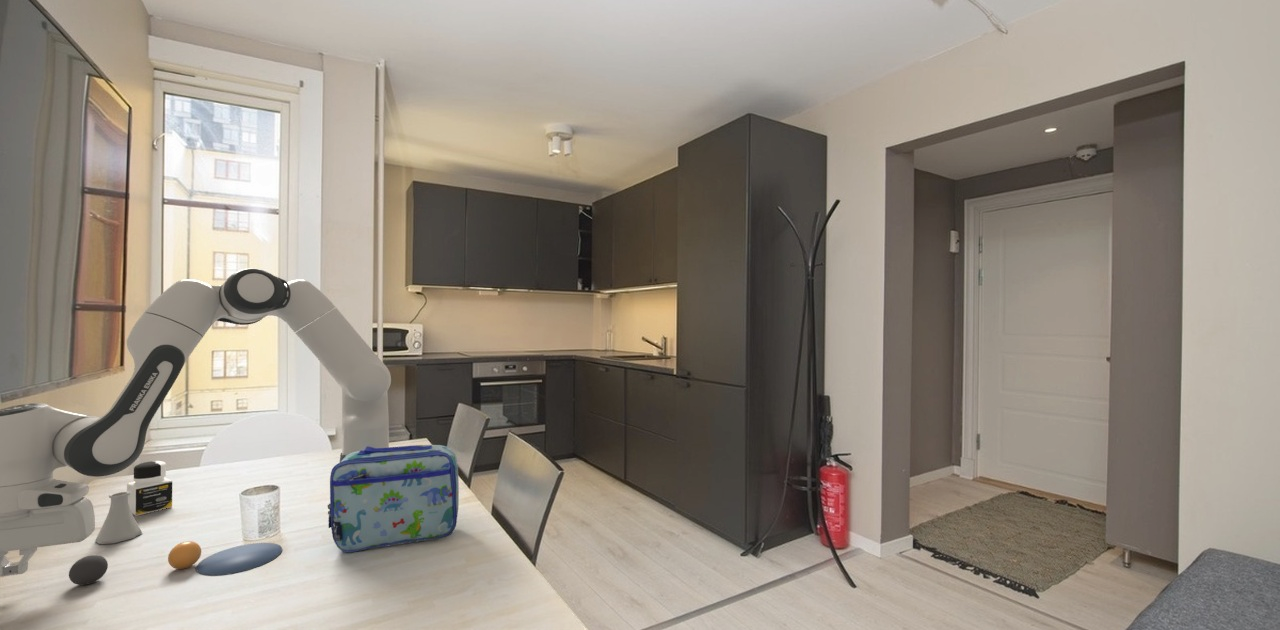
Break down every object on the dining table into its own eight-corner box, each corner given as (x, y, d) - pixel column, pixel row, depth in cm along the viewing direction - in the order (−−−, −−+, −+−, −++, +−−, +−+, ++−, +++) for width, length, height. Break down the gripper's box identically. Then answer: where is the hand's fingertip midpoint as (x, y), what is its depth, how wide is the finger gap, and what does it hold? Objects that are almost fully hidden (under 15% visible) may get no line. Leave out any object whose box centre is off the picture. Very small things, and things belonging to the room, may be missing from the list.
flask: (112, 546, 112) (112, 500, 112) (86, 543, 114) (87, 498, 114) (150, 533, 119) (150, 489, 119) (125, 530, 121) (125, 487, 121)
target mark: (287, 539, 116) (287, 538, 116) (275, 566, 104) (275, 565, 104) (208, 551, 110) (208, 550, 110) (185, 581, 98) (185, 580, 98)
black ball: (112, 574, 100) (113, 548, 100) (100, 586, 96) (100, 559, 96) (77, 580, 98) (77, 553, 98) (62, 592, 93) (62, 565, 94)
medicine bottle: (135, 516, 129) (135, 468, 129) (126, 510, 133) (126, 463, 133) (172, 507, 135) (172, 461, 135) (162, 502, 139) (163, 457, 139)
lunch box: (323, 558, 107) (324, 457, 107) (337, 537, 118) (338, 444, 118) (456, 543, 115) (457, 448, 115) (459, 524, 125) (459, 437, 125)
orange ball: (204, 559, 106) (204, 535, 106) (196, 570, 102) (196, 544, 102) (173, 564, 104) (173, 539, 104) (163, 575, 100) (163, 549, 100)
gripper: (-88, 511, 85) (-90, 595, 85) (82, 494, 94) (81, 570, 94) (-58, 498, 91) (-60, 578, 91) (100, 484, 100) (98, 556, 100)
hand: (13, 574), depth 93 cm, fingers closed
